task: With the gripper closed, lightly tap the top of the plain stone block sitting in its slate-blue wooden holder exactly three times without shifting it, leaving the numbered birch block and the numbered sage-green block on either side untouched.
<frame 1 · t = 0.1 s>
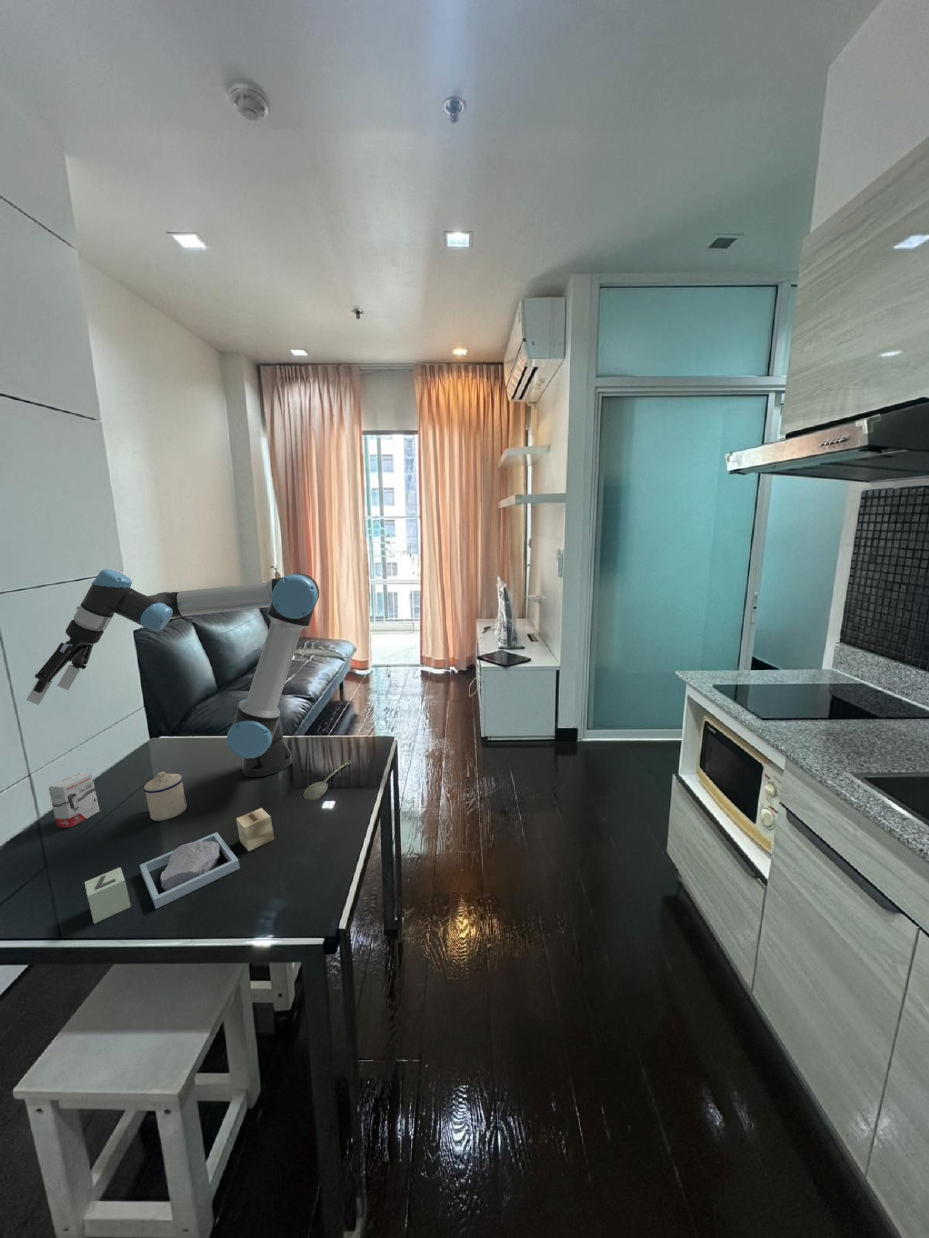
hand: (48, 694, 129), 36 cm above the table, tool tilted 35°, fingers open, 13 cm apart
numbered birch block: (257, 840, 117), on the table
ink box: (79, 819, 135), on the table
numbered sage-green block: (110, 907, 98), on the table
teacup with lid: (166, 812, 135), on the table
stone block: (195, 871, 108), resting in slate-blue holder
soupspoon: (330, 782, 145), on the table
slate-blue holder: (190, 870, 108), on the table
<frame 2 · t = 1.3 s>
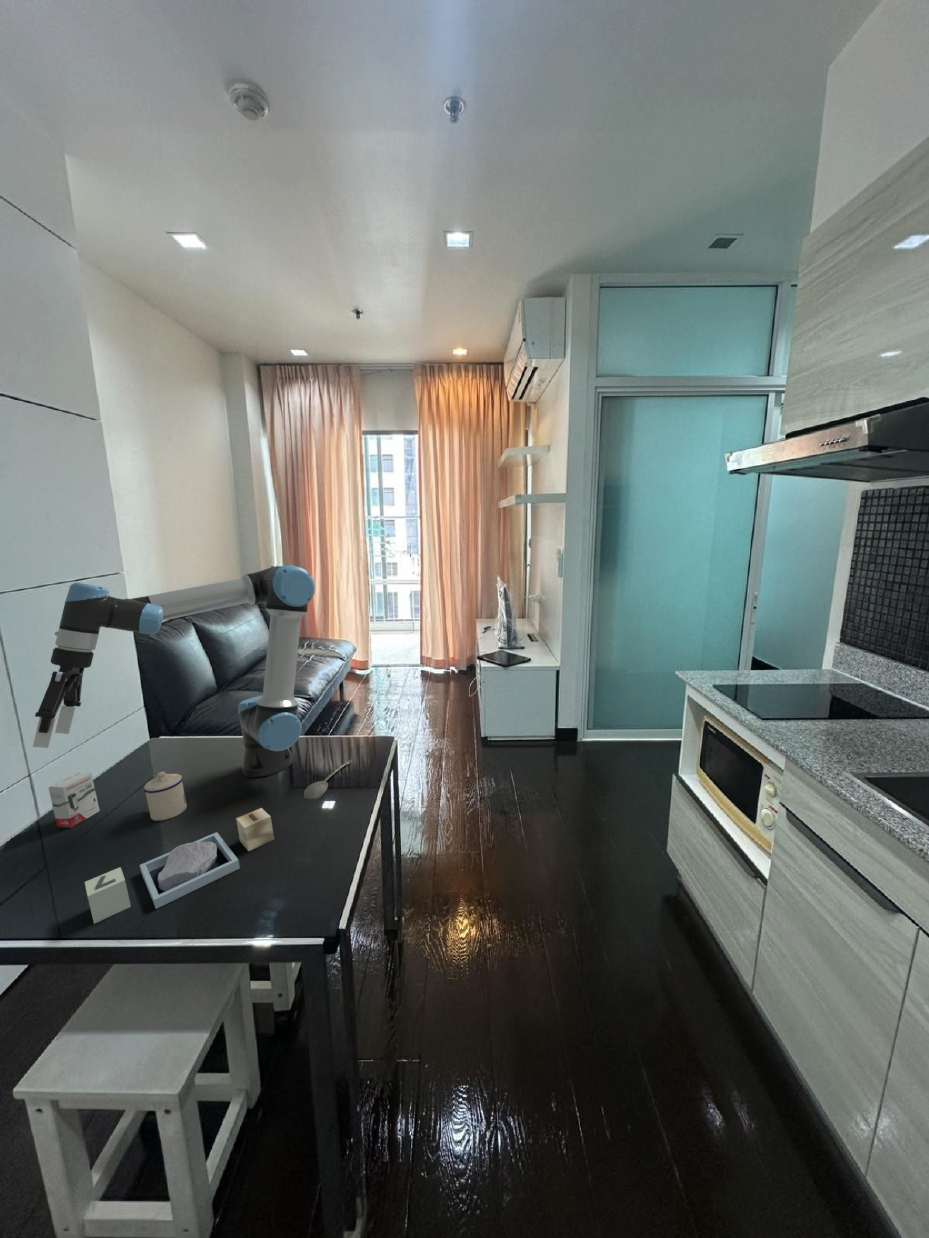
hand: (52, 739, 113), 29 cm above the table, tool tilted 20°, fingers open, 13 cm apart
nothing on the table moved.
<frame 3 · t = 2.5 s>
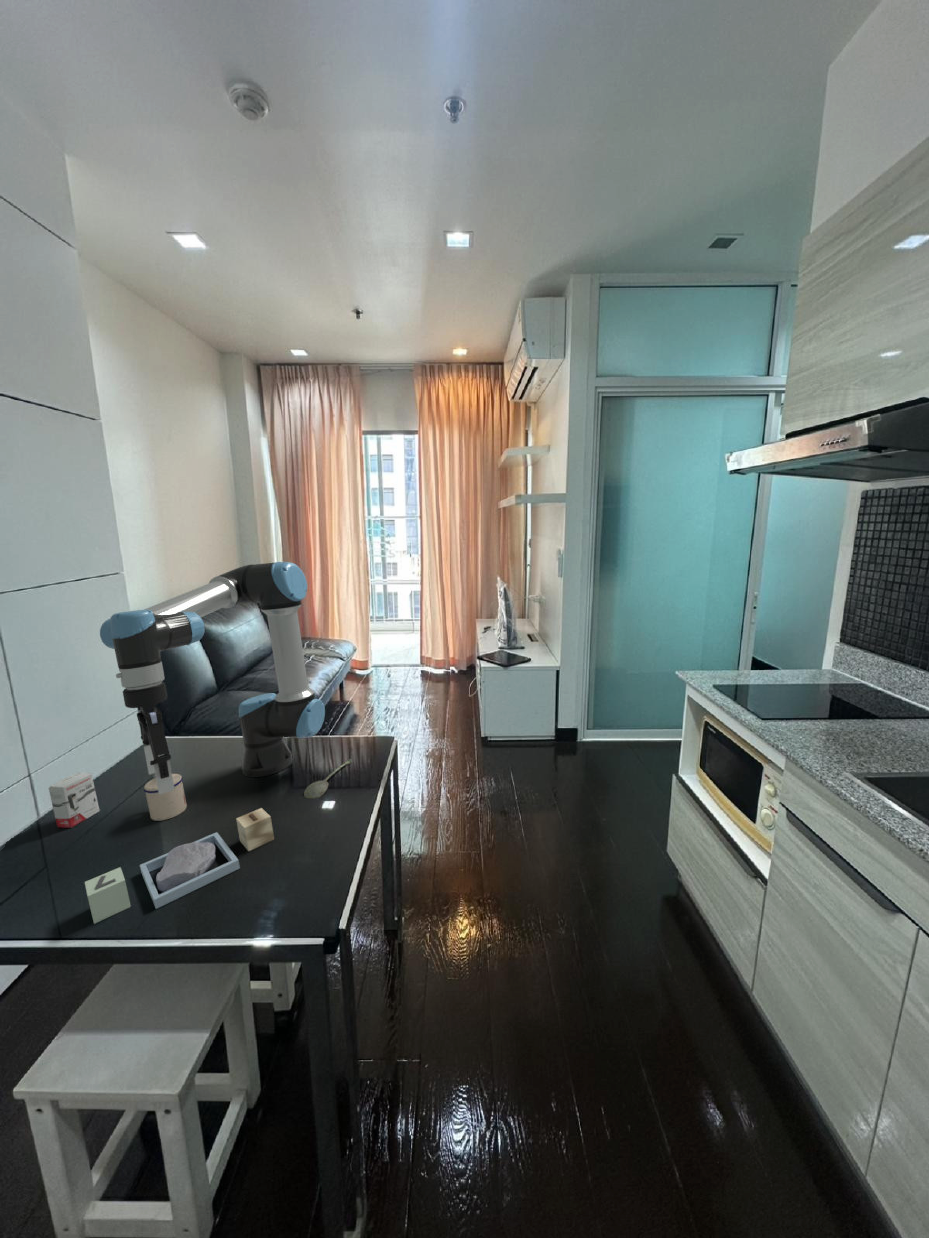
hand: (161, 781, 105), 21 cm above the table, tool pointing down, fingers open, 13 cm apart
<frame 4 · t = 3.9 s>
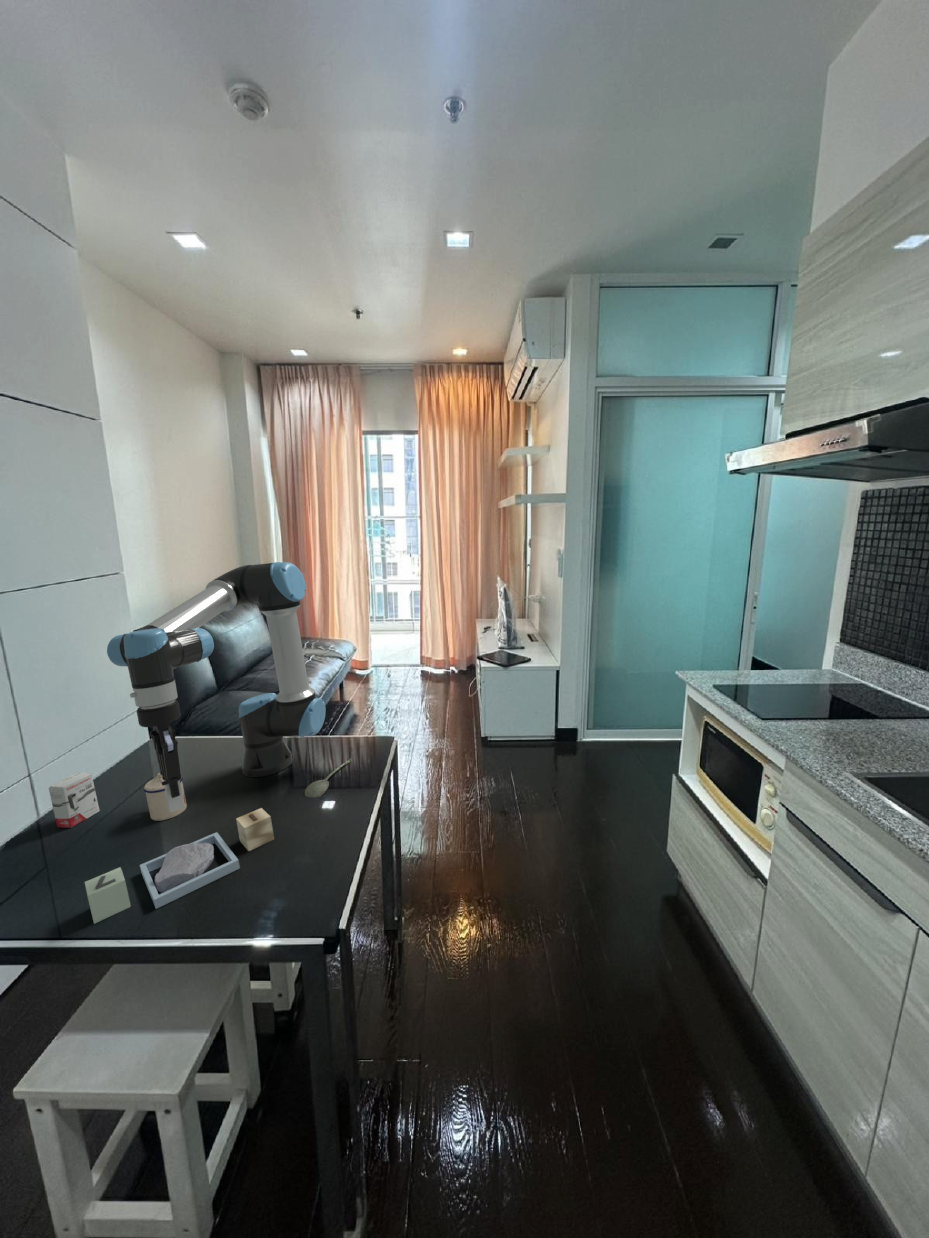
hand: (176, 808, 105), 15 cm above the table, tool pointing down, fingers closed
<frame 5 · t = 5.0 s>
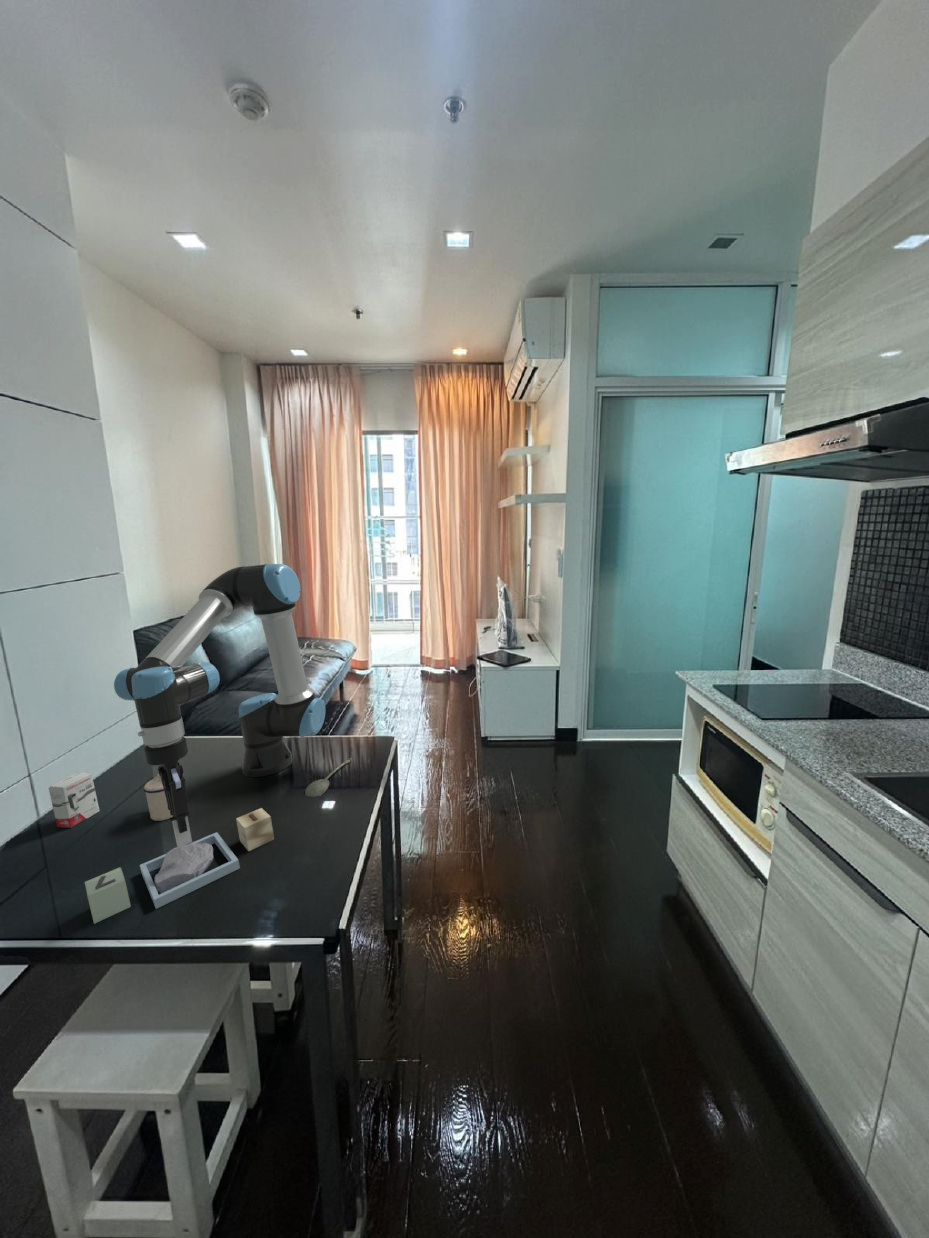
hand: (184, 843, 107), 7 cm above the table, tool pointing down, fingers closed
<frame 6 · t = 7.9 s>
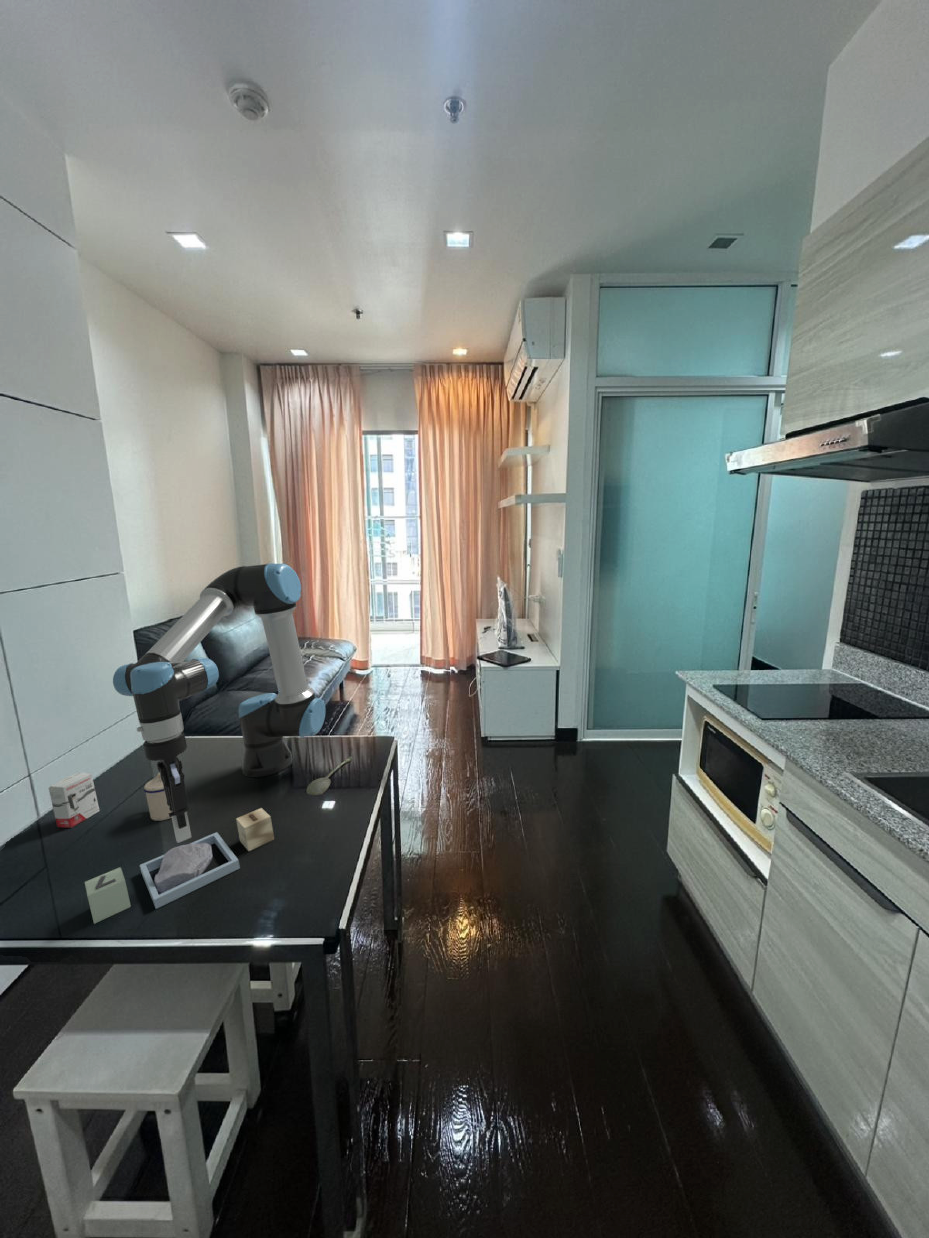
hand: (183, 838, 107), 8 cm above the table, tool pointing down, fingers closed
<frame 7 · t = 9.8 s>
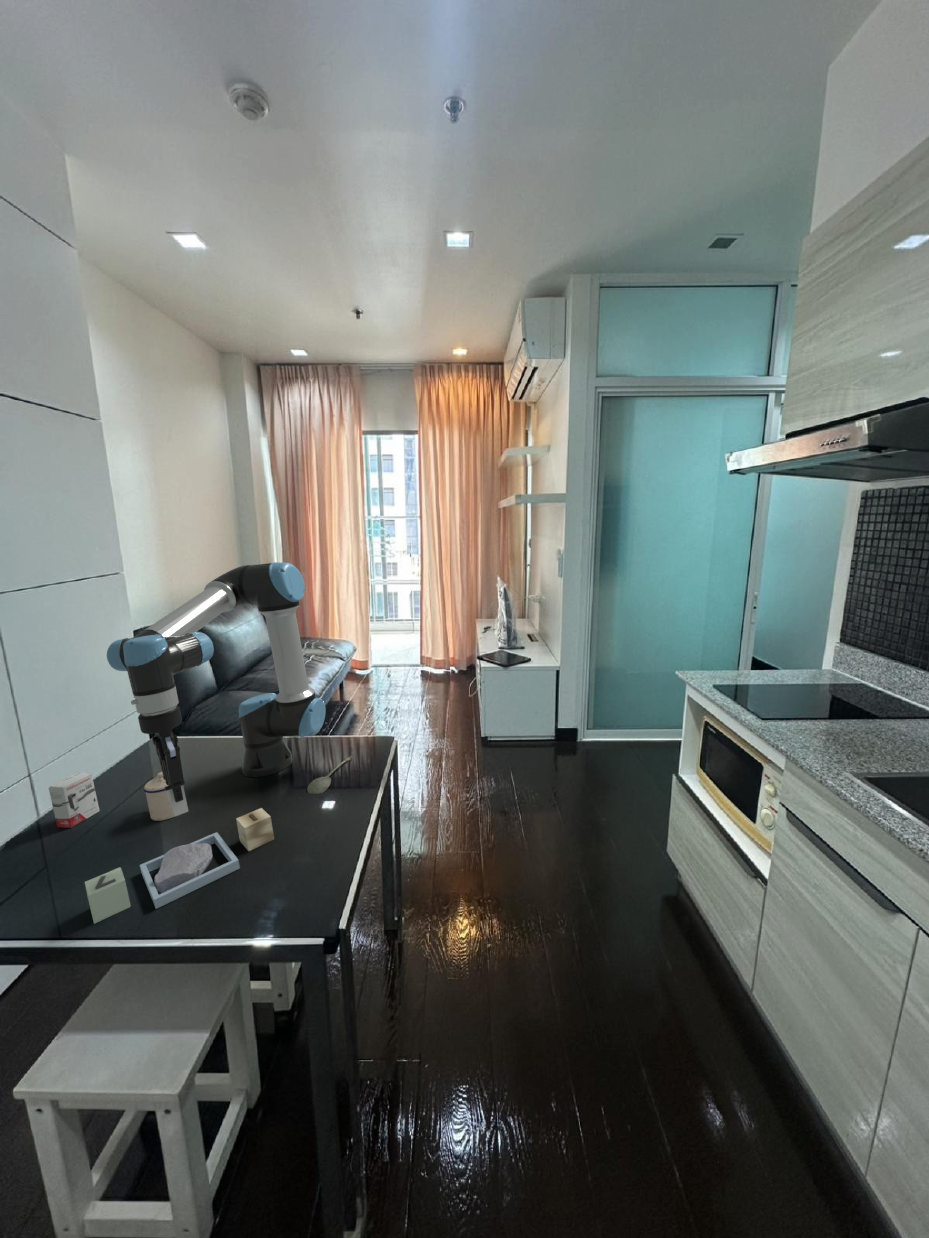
hand: (180, 812, 106), 14 cm above the table, tool pointing down, fingers closed
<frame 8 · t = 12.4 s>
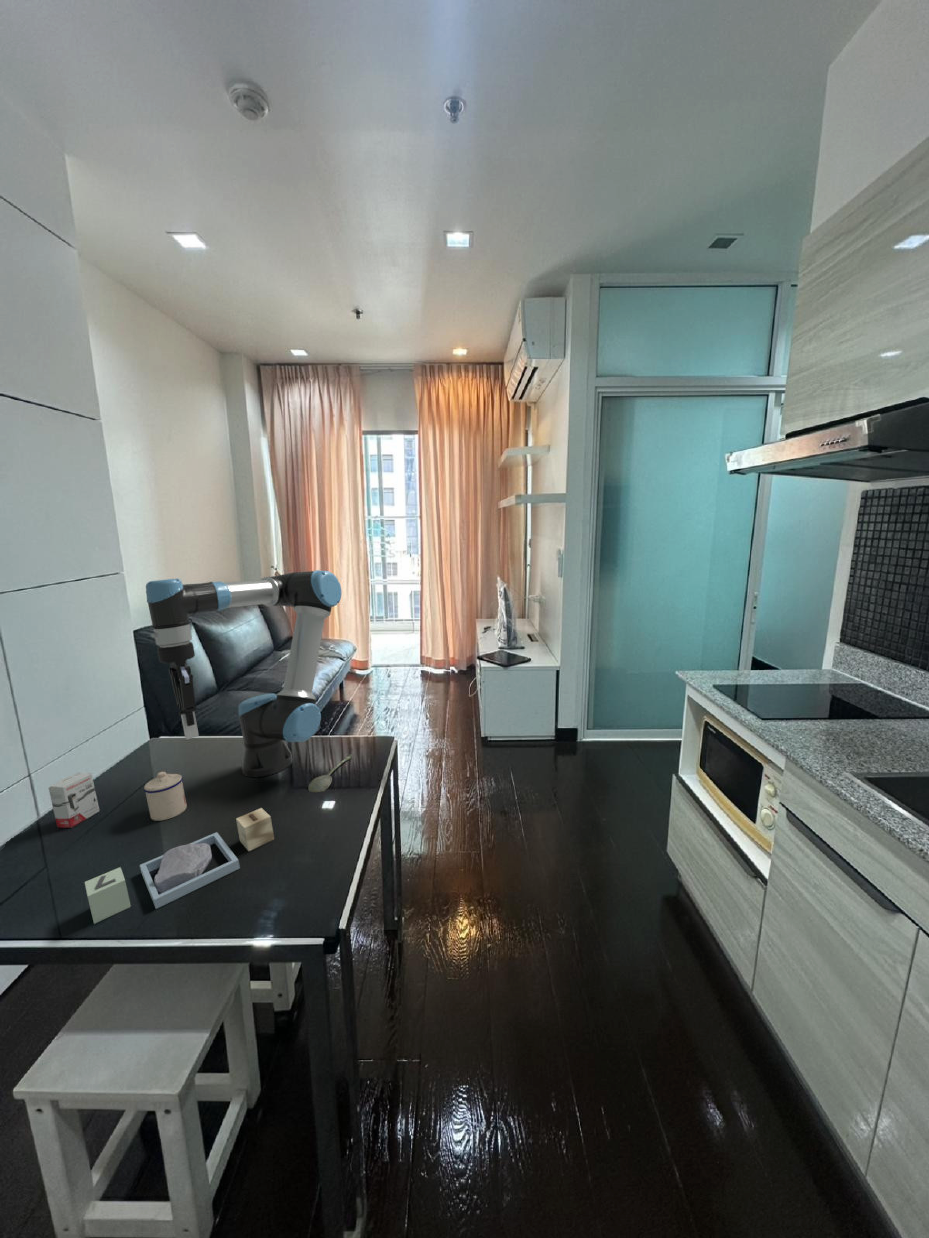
hand: (192, 736, 121), 24 cm above the table, tool pointing down, fingers closed
at the end: stone block moved 0.8 cm from its start; numbered birch block moved 0.1 cm from its start; numbered sage-green block moved 0.1 cm from its start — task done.
